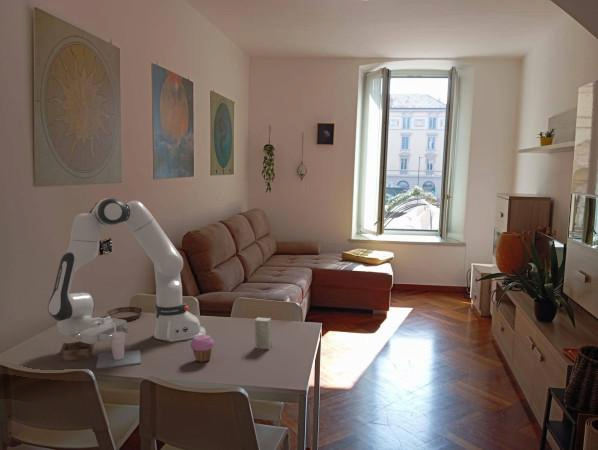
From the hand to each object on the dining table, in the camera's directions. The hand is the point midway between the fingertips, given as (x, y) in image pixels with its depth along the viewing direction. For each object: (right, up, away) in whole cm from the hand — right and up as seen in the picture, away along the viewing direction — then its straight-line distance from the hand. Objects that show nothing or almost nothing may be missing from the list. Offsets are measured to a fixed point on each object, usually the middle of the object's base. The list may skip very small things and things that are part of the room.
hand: (119, 333), depth 203 cm
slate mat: (-1, -10, +2) cm, 11 cm away
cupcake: (+32, -11, +1) cm, 34 cm away
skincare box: (+54, -9, +16) cm, 57 cm away
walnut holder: (-19, -10, +7) cm, 23 cm away
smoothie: (-1, -10, +2) cm, 10 cm away
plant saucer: (-17, -4, +58) cm, 61 cm away
